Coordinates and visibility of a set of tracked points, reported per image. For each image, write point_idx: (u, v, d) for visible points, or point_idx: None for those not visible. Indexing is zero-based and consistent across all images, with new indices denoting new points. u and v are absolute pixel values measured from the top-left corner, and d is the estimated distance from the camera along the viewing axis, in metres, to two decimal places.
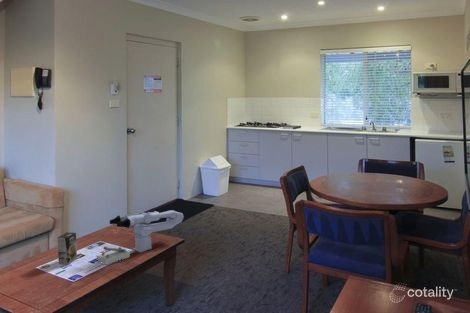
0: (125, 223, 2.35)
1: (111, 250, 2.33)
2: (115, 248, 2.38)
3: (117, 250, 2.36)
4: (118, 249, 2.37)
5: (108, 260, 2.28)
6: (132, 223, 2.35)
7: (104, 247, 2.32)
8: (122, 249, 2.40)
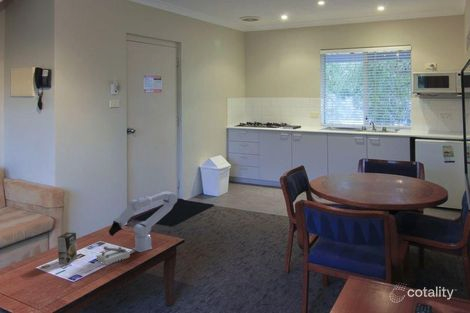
0: (115, 225, 2.34)
1: (111, 250, 2.33)
2: (115, 248, 2.38)
3: (117, 250, 2.36)
4: (118, 249, 2.37)
5: (108, 260, 2.28)
6: (118, 220, 2.32)
7: (104, 247, 2.32)
8: (122, 249, 2.40)
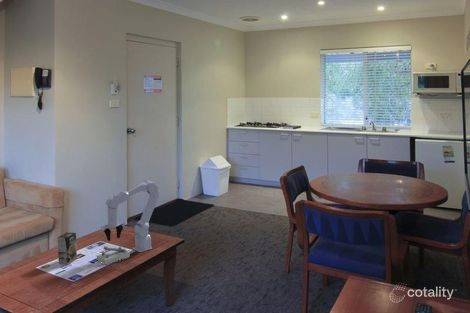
0: None
1: (111, 250, 2.33)
2: (115, 248, 2.38)
3: (117, 250, 2.36)
4: (118, 249, 2.37)
5: (108, 260, 2.28)
6: (102, 228, 2.33)
7: (104, 247, 2.32)
8: (122, 249, 2.40)
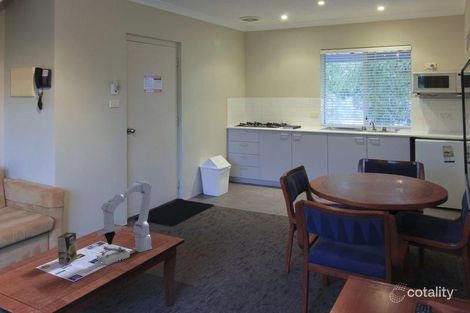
0: None
1: (111, 250, 2.33)
2: (115, 248, 2.38)
3: (117, 250, 2.36)
4: (118, 249, 2.37)
5: (108, 260, 2.28)
6: (97, 233, 2.27)
7: (104, 247, 2.32)
8: (122, 249, 2.40)
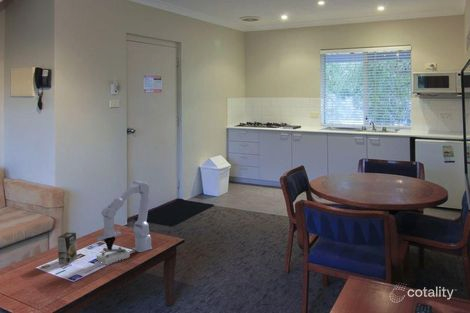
0: None
1: (111, 251, 2.33)
2: None
3: None
4: (118, 249, 2.37)
5: (108, 260, 2.28)
6: (97, 239, 2.27)
7: (104, 249, 2.32)
8: (122, 249, 2.40)
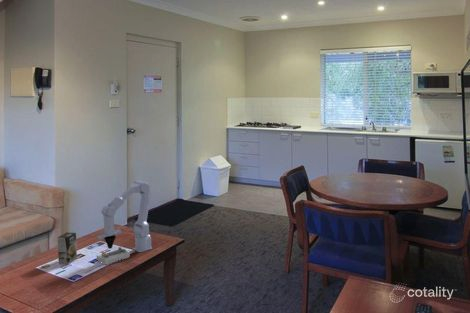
0: None
1: None
2: None
3: None
4: (118, 251, 2.37)
5: (108, 260, 2.28)
6: (98, 237, 2.27)
7: (103, 254, 2.32)
8: (122, 249, 2.40)
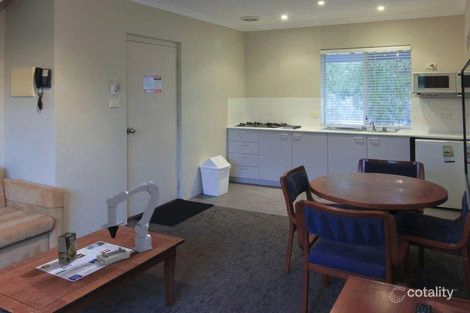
0: None
1: None
2: None
3: None
4: (118, 251, 2.37)
5: (108, 260, 2.28)
6: (101, 227, 2.35)
7: (103, 254, 2.32)
8: (122, 249, 2.40)
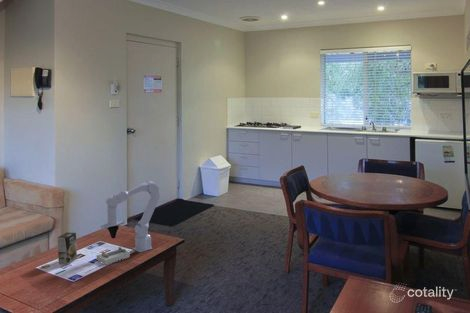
0: None
1: None
2: None
3: None
4: (118, 251, 2.37)
5: (108, 260, 2.28)
6: (101, 227, 2.35)
7: (103, 254, 2.32)
8: (122, 249, 2.40)
